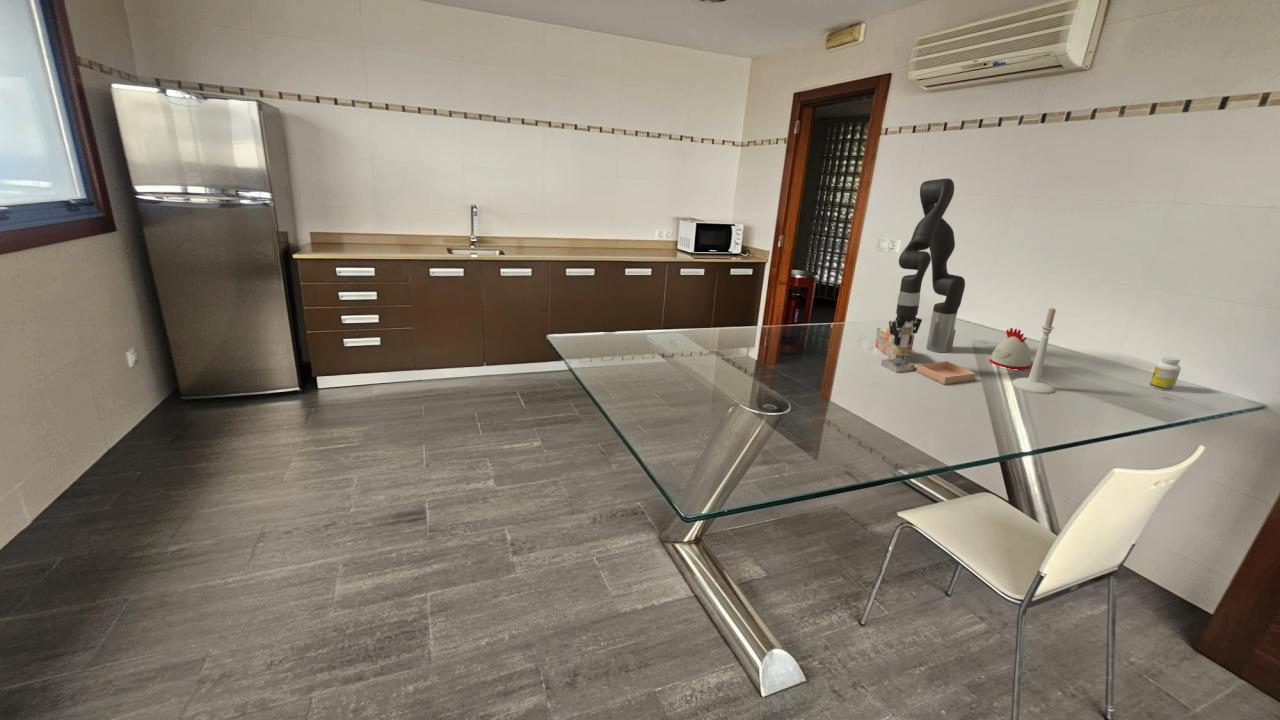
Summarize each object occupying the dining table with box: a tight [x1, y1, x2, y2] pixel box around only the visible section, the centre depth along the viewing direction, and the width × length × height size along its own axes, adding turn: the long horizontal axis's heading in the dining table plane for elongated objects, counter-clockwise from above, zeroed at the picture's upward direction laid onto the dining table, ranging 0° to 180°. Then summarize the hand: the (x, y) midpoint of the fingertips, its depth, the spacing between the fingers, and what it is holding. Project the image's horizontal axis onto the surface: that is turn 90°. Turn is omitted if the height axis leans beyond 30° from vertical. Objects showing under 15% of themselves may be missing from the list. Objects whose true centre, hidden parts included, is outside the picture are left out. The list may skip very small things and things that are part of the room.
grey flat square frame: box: [880, 358, 916, 374], centre depth 216 cm, size 9×9×2 cm
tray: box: [916, 360, 977, 386], centre depth 207 cm, size 14×14×3 cm
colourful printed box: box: [874, 326, 915, 363], centre depth 230 cm, size 21×6×12 cm, turn 179°
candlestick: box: [1011, 307, 1057, 395], centre depth 191 cm, size 13×13×30 cm
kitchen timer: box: [989, 327, 1032, 371], centre depth 216 cm, size 14×14×15 cm
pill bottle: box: [1149, 355, 1182, 391], centre depth 192 cm, size 6×6×12 cm
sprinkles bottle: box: [895, 322, 912, 355], centre depth 212 cm, size 5×5×13 cm
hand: (902, 344), depth 213 cm, fingers closed on sprinkles bottle, 4 cm apart
